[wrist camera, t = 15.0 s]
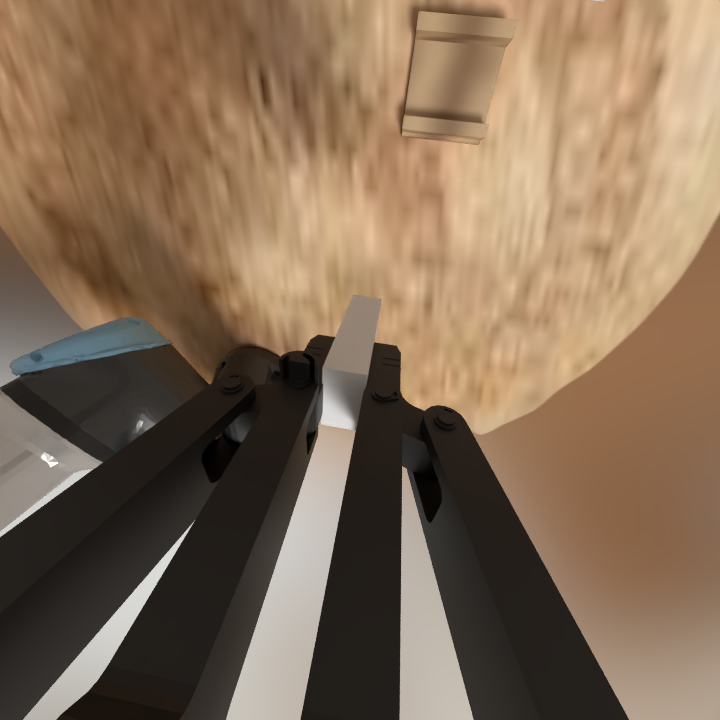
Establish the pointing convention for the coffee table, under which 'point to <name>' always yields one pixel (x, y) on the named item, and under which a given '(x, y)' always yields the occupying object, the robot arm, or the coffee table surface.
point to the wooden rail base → (454, 75)
